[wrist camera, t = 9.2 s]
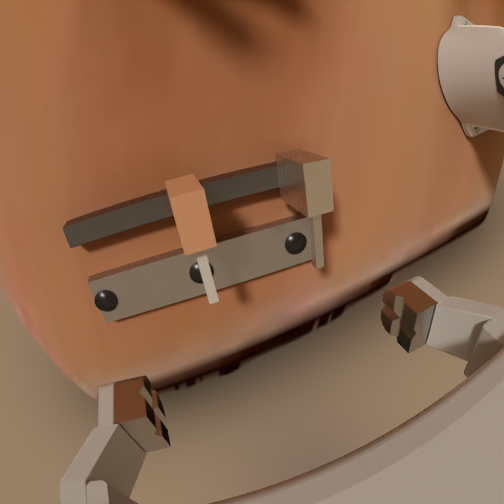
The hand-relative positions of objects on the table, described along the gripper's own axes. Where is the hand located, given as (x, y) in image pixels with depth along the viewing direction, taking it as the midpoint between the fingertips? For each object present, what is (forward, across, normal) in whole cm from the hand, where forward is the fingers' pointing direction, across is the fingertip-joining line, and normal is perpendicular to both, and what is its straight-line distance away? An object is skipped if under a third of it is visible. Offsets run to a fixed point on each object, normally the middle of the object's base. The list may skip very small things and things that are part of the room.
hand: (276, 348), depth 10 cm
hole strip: (+21, 0, +8) cm, 23 cm away
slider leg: (+19, +1, +4) cm, 20 cm away
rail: (+21, 0, +4) cm, 22 cm away
